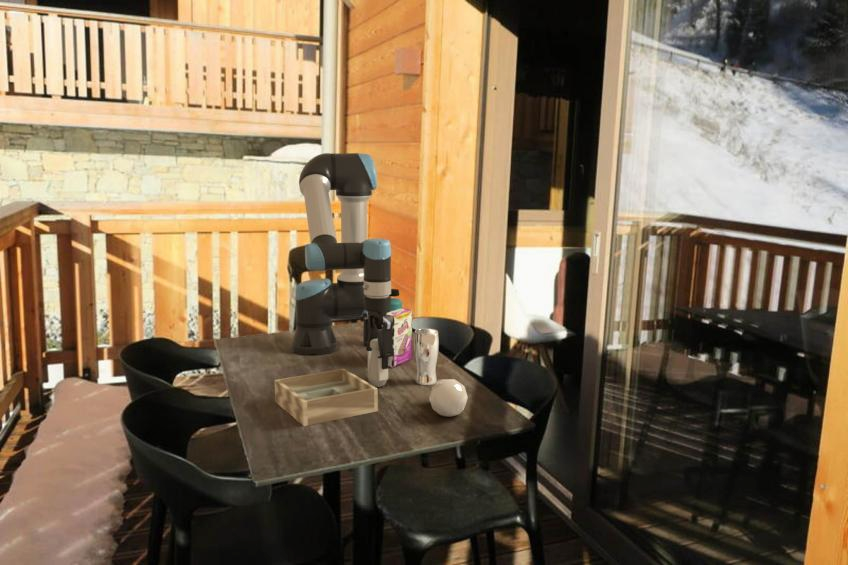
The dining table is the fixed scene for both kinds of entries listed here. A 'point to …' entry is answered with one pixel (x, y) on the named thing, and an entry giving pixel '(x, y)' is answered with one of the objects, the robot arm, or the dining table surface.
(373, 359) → the salt shaker
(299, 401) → the insert box
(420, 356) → the beer glass
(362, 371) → the dining table surface
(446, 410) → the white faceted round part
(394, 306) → the beverage bottle
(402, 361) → the candy bar box
